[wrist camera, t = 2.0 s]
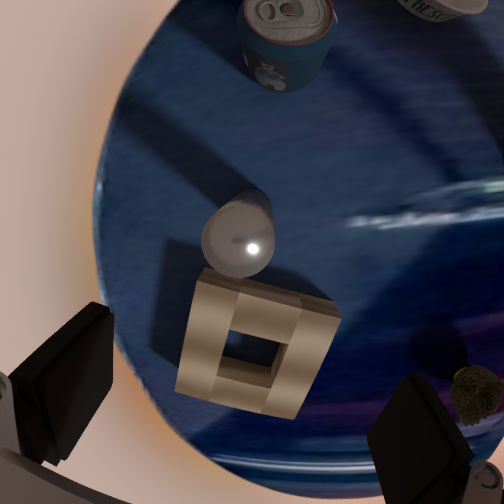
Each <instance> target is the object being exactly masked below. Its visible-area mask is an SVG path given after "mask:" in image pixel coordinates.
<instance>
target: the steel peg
mask: <svg viewBox="0 0 504 504" xmlns="http://www.w3.org/2000/svg"><path fill="white" fill-rule="evenodd" d="M201 246H202V251H203V254H204V256H205V258H206V260H207V261H208V263H209V264H210V265H211V266H212V267H213V268H214V269H215V270H216V271H218V272H219V273H221V274H223V275H226V276H229V277H234V278H244V277H249V276H252V275H254V274H256V273H258V272H260V271H261V270H262V269H263V268H264V267H265V266H266V265H267V264H268V263H269V261H270V259H271V258H272V255H273V252H274V248H275V236H274V224H273V213H272V204H271V201H270V199H269V198H268V196H267V195H266V194H265V193H263V192H262V191H260V190H257V189H245V190H243V191H241V192H239V193H238V194H237V195H236V196H234V197H233V198H232V199H231V200H230V201H228V202H227V203H226V204H225V205H224V206H223V207H221V208H220V209H219V210H218V211H217V212H216V213H214V214H213V215H212V216H211V217H210V218H209V220H208V221H207V222H206V224H205V226H204V228H203V231H202V236H201Z"/></svg>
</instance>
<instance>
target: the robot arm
mask: <svg viewBox="0 0 504 504" xmlns="http://www.w3.org/2000/svg"><path fill="white" fill-rule="evenodd" d="M113 339H114V314H113V313H111V312H110V308H109V307H107V306H105V305H102V304H99V303H96V302H90V303H89V304H88V305H87V306H85V307H84V308H83V309H82V310H81V311H80V312H78V313H77V314H76V315H75V316H74V317H73V318H72V319H70V320H69V321H68V322H67V323H66V324H65V325H64V326H62V327H61V328H60V329H59V330H58V331H57V332H55V333H54V334H53V335H52V336H51V337H50V338H48V339H47V340H46V341H45V342H44V343H43V344H42V345H41V346H40V347H39V348H37V349H36V350H35V351H34V352H33V353H32V354H31V355H30V356H29V357H28V358H27V359H26V360H25V361H23V362H22V363H21V364H20V365H19V366H18V367H17V368H16V369H15V370H14V371H13V372H12V373H11V374H10V375H9V376H8V377H7V376H6V375H5V374H3V373H2V372H0V504H131V503H128V502H125V501H122V500H119V499H117V498H114V497H111V496H109V495H106V494H103V493H101V492H98V491H96V490H93V489H91V488H88V487H86V486H84V485H81V484H79V483H77V482H75V481H72V480H70V479H68V478H66V477H64V476H62V475H60V474H58V473H56V472H54V471H52V470H50V469H48V468H46V467H44V466H42V465H41V464H42V463H43V461H44V460H45V461H47V462H49V463H50V464H52V465H54V466H57V465H58V463H59V462H60V460H61V459H62V460H64V461H65V460H66V459H67V458H68V457H69V455H70V453H71V452H72V450H73V448H74V447H75V445H76V443H77V442H78V440H79V438H80V437H81V435H82V434H83V432H84V430H85V428H86V427H87V425H88V424H89V422H90V420H91V419H92V417H93V416H94V414H95V413H96V411H97V409H98V408H99V406H100V405H101V403H102V402H103V400H104V398H105V397H106V395H107V394H108V392H109V391H110V389H111V386H112V383H113ZM367 442H368V446H369V449H370V452H371V455H372V459H373V462H374V465H375V468H376V472H377V475H378V478H379V482H380V485H381V489H382V492H383V496H384V499H385V503H386V504H504V489H503V477H502V474H501V472H500V471H499V469H498V468H497V467H496V466H495V465H493V464H492V463H490V462H487V461H477V462H475V463H474V464H473V465H472V466H471V467H470V465H469V462H470V461H471V460H472V459H473V458H474V457H475V455H474V453H473V452H472V450H471V448H470V446H469V445H468V443H467V441H466V440H465V438H464V436H463V435H462V433H461V431H460V430H459V428H458V426H457V425H456V423H455V422H454V420H453V418H452V417H451V415H450V414H449V412H448V410H447V409H446V407H445V406H444V404H443V403H442V401H441V399H440V398H439V396H438V395H437V393H436V392H435V390H434V389H433V387H432V386H431V384H430V383H429V381H428V380H427V378H426V377H425V376H424V375H419V374H408V375H407V376H406V377H404V378H402V379H401V380H400V382H399V384H398V386H397V387H396V389H395V391H394V392H393V394H392V396H391V398H390V399H389V401H388V403H387V404H386V406H385V407H384V409H383V411H382V412H381V414H380V415H379V417H378V419H377V420H376V422H375V423H374V425H373V426H372V428H371V429H370V431H369V432H368V435H367Z"/></svg>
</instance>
